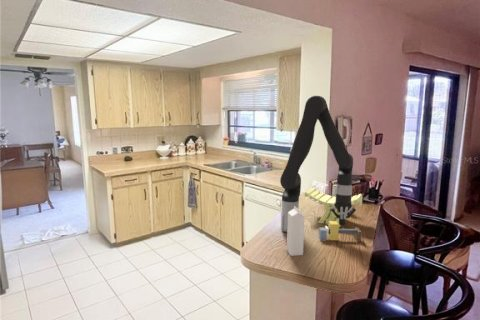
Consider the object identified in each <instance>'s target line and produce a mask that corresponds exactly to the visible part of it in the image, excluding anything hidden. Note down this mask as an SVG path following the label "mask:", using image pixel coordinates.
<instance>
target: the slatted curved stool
mask: <svg viewBox="0 0 480 320" xmlns="http://www.w3.org/2000/svg"><path fill="white" fill-rule="evenodd" d="M304 197H307V198H308V197H309V198H308V199H310V200H313V202H317V201H318V204H323V205H324V209H325V212H324V214H323V215H322V217H320V219H319V220H318V221H317V223H318V224H322V223H323V225H324V224H325V225H328V223H329V221H337V223H338V224H339V218H337V217H336V216H335V214H334V213H333V212H332V210H331V209H330V207H333V206H334V204H335V202H336V197H334V196H333V197H332V195H329V194H326V193H324V192H321V190H318V189H316V188H315V187H311V188H308V189H307V190H306V191H305V193H304ZM351 205H352V206H356V207H357V206H358V207H360V208H361V207H362V205H363V194H362V193H359V194H358V195H353V196H351ZM335 209H336V208H335ZM335 212H336V213H337V214H338V215H339V211H338V210H337V209H336V211H335ZM340 227H342V226H341V225H340V224H339V228H340Z"/></svg>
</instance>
